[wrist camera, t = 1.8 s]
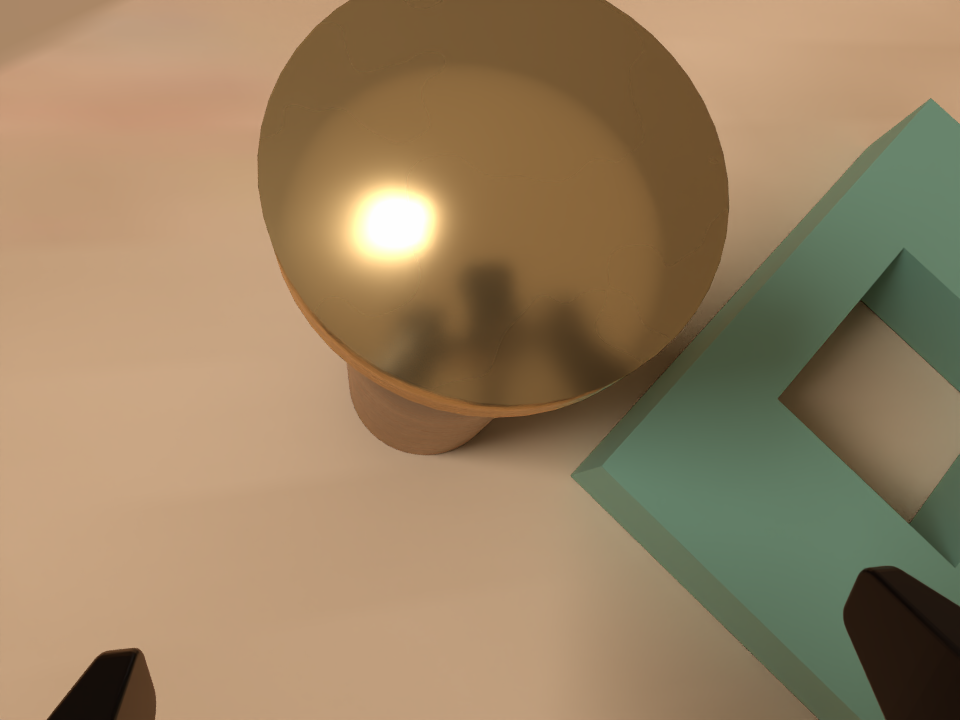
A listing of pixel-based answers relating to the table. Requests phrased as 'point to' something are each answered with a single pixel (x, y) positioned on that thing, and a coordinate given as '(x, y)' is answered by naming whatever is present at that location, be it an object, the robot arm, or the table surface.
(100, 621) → the table surface
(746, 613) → the jig
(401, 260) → the metal peg
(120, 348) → the table surface
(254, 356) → the table surface
